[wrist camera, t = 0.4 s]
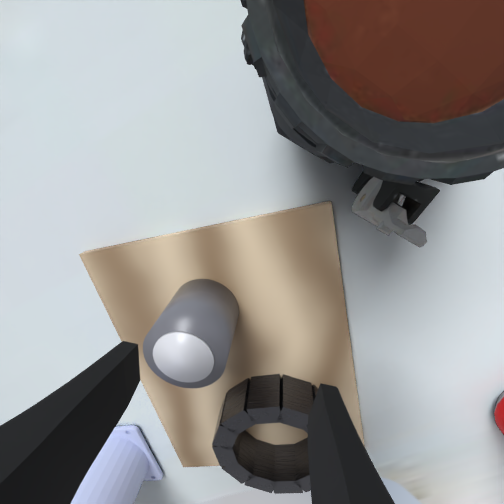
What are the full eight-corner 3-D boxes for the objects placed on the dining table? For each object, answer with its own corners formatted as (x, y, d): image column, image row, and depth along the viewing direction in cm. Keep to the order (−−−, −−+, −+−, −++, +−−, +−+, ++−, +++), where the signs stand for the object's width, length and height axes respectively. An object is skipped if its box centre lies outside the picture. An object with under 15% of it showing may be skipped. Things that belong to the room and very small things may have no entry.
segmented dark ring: (236, 458, 27) (231, 494, 24) (207, 381, 24) (197, 412, 21) (342, 453, 25) (349, 491, 23) (327, 368, 22) (333, 402, 19)
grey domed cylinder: (185, 339, 22) (158, 394, 17) (164, 284, 20) (128, 329, 16) (246, 331, 21) (235, 387, 16) (229, 273, 20) (211, 317, 15)
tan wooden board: (185, 460, 29) (183, 467, 28) (84, 251, 21) (79, 254, 20) (364, 452, 26) (366, 459, 25) (329, 200, 18) (331, 202, 17)
